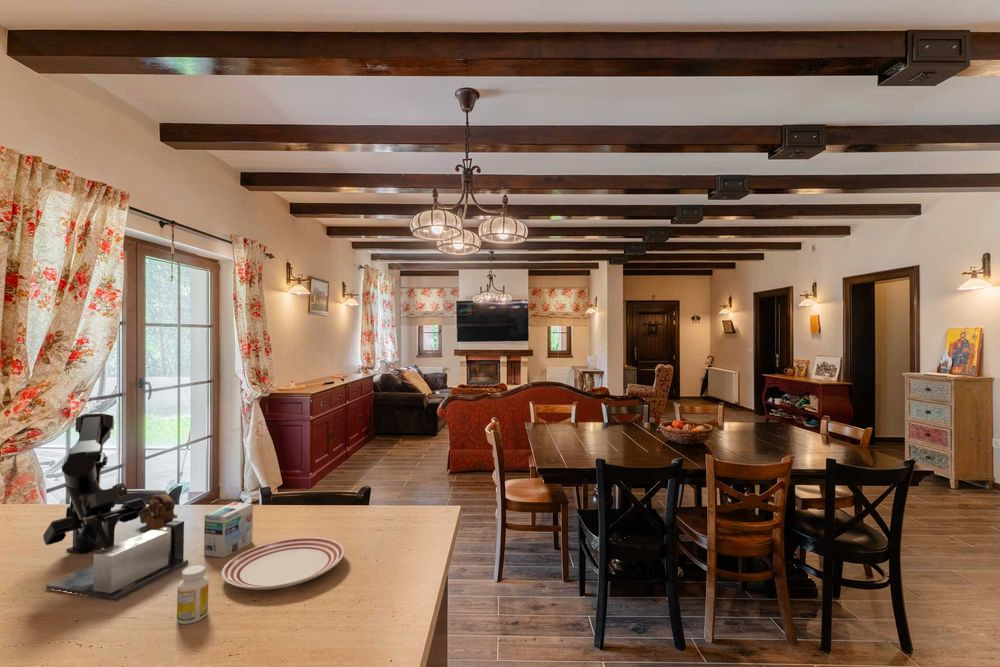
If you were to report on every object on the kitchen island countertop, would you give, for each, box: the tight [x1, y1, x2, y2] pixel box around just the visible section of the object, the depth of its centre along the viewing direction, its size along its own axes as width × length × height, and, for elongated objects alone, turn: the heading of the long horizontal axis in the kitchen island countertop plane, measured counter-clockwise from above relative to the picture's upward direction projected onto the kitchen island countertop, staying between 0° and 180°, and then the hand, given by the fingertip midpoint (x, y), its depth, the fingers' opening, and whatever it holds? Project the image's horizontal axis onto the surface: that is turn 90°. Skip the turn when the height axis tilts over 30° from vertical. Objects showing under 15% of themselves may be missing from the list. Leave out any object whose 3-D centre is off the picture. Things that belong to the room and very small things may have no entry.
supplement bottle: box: [176, 564, 209, 625], centre depth 98 cm, size 5×5×10 cm
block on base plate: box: [45, 519, 189, 602], centre depth 115 cm, size 20×19×10 cm
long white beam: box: [92, 527, 171, 593], centre depth 113 cm, size 5×16×8 cm, turn 167°
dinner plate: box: [220, 536, 345, 591], centre depth 118 cm, size 28×27×3 cm
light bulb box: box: [203, 501, 254, 559], centre depth 130 cm, size 11×7×11 cm, turn 168°
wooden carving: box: [139, 493, 178, 531], centre depth 143 cm, size 16×5×10 cm, turn 67°
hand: (111, 549), depth 113 cm, fingers closed
